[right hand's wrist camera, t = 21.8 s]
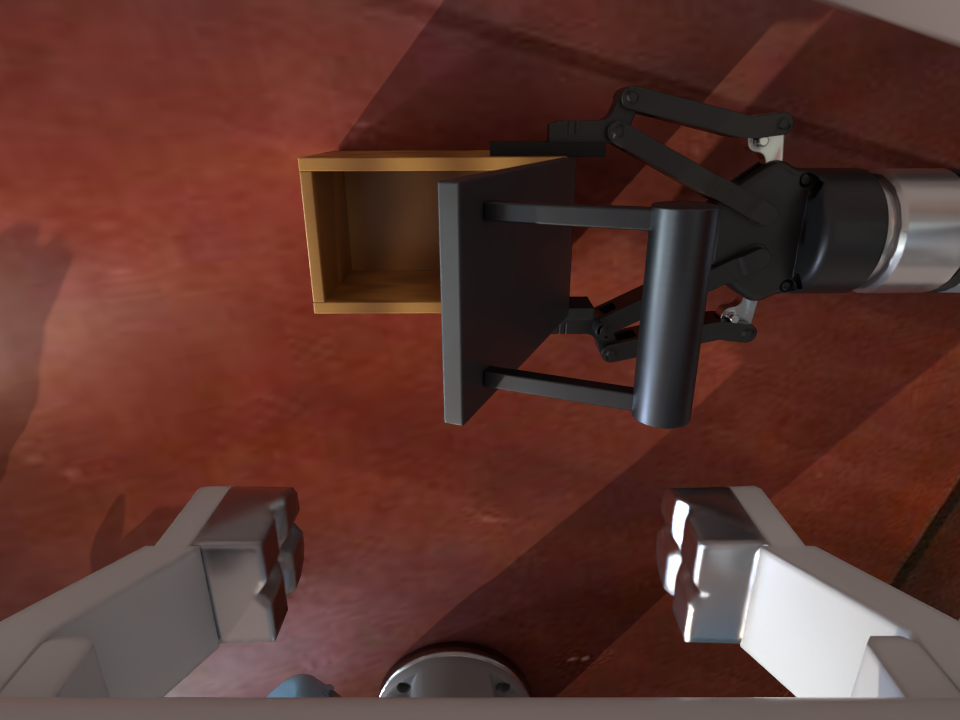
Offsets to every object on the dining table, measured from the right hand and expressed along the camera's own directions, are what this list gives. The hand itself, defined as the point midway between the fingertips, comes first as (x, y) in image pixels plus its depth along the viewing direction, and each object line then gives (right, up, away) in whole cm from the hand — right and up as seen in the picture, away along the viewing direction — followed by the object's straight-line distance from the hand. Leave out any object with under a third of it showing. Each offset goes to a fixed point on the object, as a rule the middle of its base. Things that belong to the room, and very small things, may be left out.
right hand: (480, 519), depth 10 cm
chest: (-3, +13, +34) cm, 36 cm away
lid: (+2, +7, +18) cm, 20 cm away
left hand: (+1, +11, +27) cm, 29 cm away
